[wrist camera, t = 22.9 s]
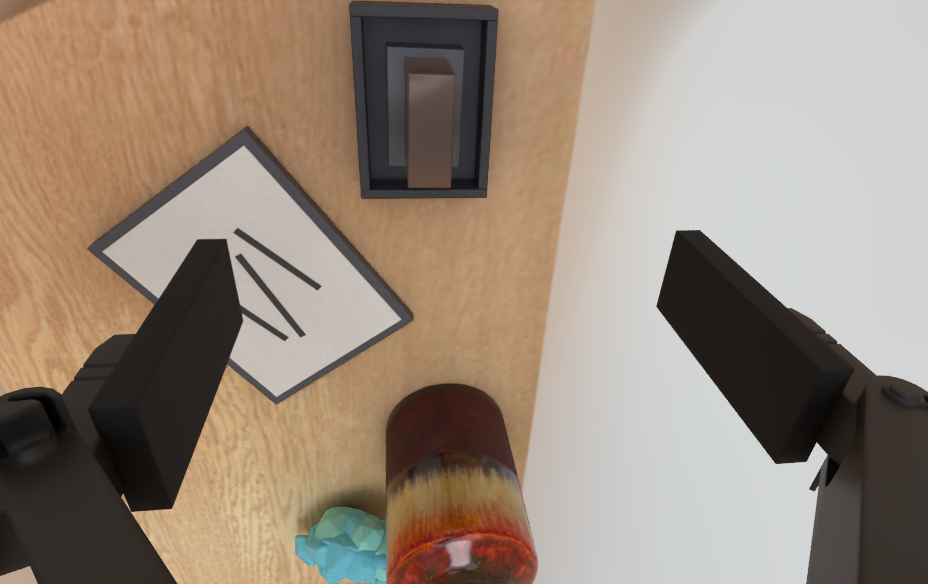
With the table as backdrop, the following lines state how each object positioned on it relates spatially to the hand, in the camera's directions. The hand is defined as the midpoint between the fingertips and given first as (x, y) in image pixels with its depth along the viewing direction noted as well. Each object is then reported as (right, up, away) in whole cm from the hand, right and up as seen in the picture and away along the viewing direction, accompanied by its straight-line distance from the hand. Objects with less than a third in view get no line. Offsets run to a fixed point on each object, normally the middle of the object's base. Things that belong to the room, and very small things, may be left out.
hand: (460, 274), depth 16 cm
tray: (-3, +12, +19) cm, 23 cm away
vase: (-2, -13, +35) cm, 37 cm away
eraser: (-3, +11, +19) cm, 22 cm away
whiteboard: (-15, 0, +24) cm, 28 cm away
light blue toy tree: (-10, -24, +40) cm, 48 cm away
